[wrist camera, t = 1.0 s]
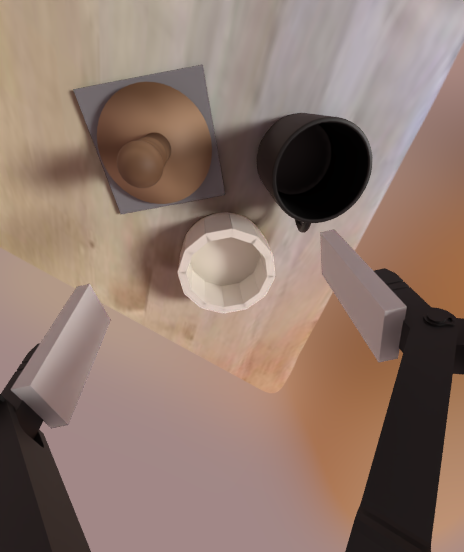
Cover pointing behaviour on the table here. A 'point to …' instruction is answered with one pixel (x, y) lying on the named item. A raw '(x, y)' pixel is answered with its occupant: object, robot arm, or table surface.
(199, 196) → the mat
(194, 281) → the bowl
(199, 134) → the lid
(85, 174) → the table surface
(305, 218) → the mug
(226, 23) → the table surface
